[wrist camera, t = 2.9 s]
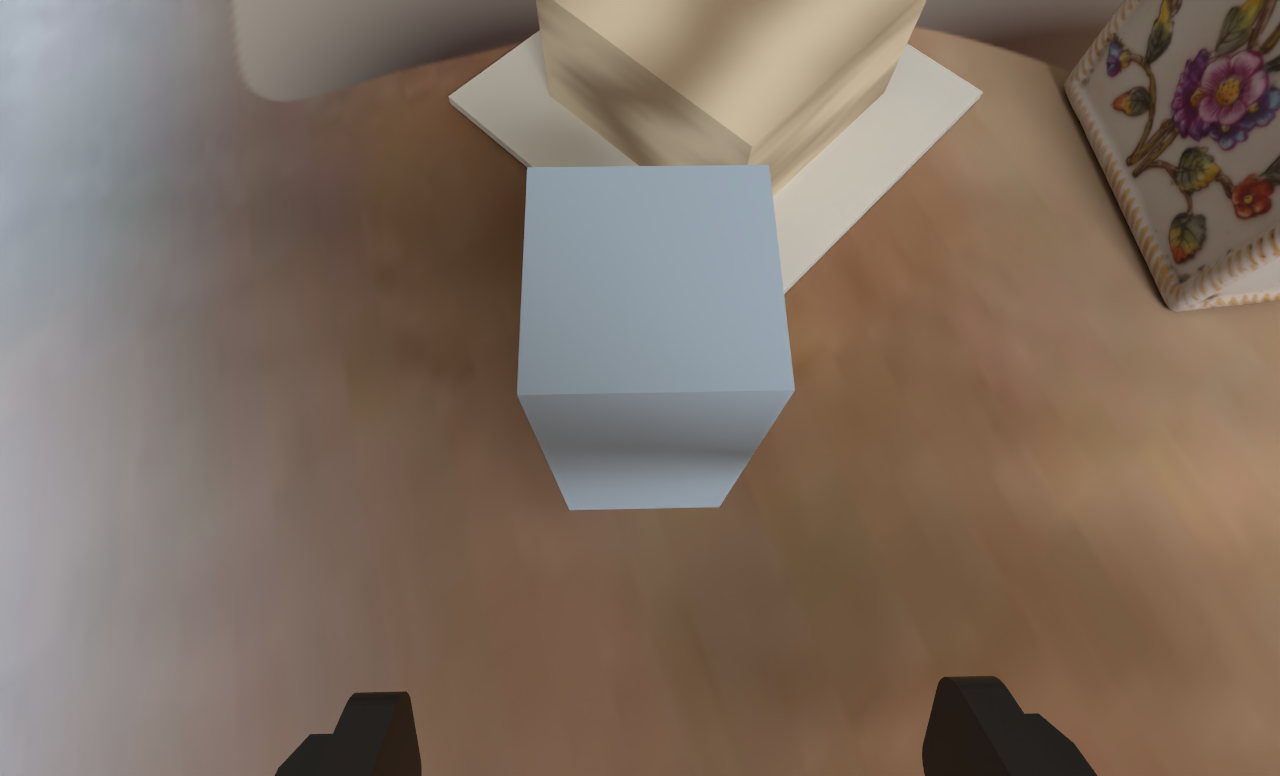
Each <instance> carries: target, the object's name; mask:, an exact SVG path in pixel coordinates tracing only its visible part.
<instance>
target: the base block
mask: <svg viewBox="0 0 1280 776" xmlns="http://www.w3.org/2000/svg"><path fill="white" fill-rule="evenodd" d="M926 1H927V0H536V6H537V12H538V19H539V25H540V33H541V40H542V46H543V53H544V60H545V67H546V73H547V80H548V87H549V94H550V96H551V97H552V98H553V99H555V100H556V101H557V102H559V103H560V104H561V105H562V106H564V107H565V108H566V109H567V110H569V111H570V112H571V113H573V114H574V115H575V116H576V117H578V118H579V119H580V120H581V121H583V122H584V123H585V124H586V125H588V126H589V127H590V128H592V129H593V130H594V131H595V132H597V133H598V134H599V135H600V136H602V137H603V138H604V139H606V140H607V141H608V142H609V143H611V144H612V145H613V146H614V147H616V148H617V149H618V150H620V151H621V152H622V153H623V154H625V155H626V156H627V157H628V158H630V159H631V160H632V161H634V162H635V163H636V164H637V165H639V166H708V165H769V168H770V177H771V185H772V194H773V196H774V195H775V194H777V193H778V192H779V191H780V190H781V189H782V188H783V187H784V186H785V185H786V184H787V183H788V182H789V181H790V180H792V179H793V178H794V177H795V176H796V175H797V174H798V173H799V172H800V171H801V170H802V169H803V168H804V167H805V166H806V165H808V164H809V163H810V162H811V161H812V160H813V159H814V158H815V157H816V156H817V155H818V154H819V153H820V152H821V151H823V150H824V149H825V148H826V147H827V146H828V145H829V144H830V143H831V142H832V141H833V140H834V139H835V138H836V137H838V136H839V135H840V134H841V133H842V132H843V131H844V130H845V129H846V128H847V127H848V126H849V125H850V124H851V123H852V122H854V121H855V120H856V119H857V118H858V117H859V116H860V115H861V114H862V113H863V112H864V111H865V110H866V109H867V108H869V107H870V106H871V105H872V104H873V103H874V102H875V101H876V100H877V99H878V98H879V97H880V96H881V95H882V94H883V93H884V92H885V90H886V88H887V86H888V83H889V81H890V79H891V77H892V75H893V73H894V70H895V68H896V66H897V64H898V62H899V60H900V57H901V55H902V53H903V51H904V49H905V46H906V44H907V42H908V40H909V38H910V36H911V33H912V31H913V29H914V27H915V25H916V23H917V20H918V18H919V16H920V14H921V12H922V9H923V7H924V5H925V3H926Z"/></svg>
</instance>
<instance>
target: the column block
mask: <svg viewBox="0 0 1280 776" xmlns="http://www.w3.org/2000/svg"><path fill="white" fill-rule="evenodd" d="M794 391H795V387H794V378H793V370H792V361H791V352H790V343H789V335H788V326H787V317H786V308H785V299H784V291H783V282H782V273H781V264H780V256H779V247H778V238H777V229H776V220H775V212H774V203H773V194H772V185H771V177H770V168H769V165H708V166H610V167H527V184H526V206H525V228H524V250H523V272H522V294H521V316H520V338H519V360H518V382H517V396H518V399H519V401H520V403H521V405H522V407H523V410H524V412H525V414H526V416H527V418H528V420H529V423H530V425H531V427H532V429H533V431H534V434H535V436H536V438H537V440H538V442H539V445H540V447H541V449H542V451H543V453H544V455H545V458H546V460H547V462H548V464H549V466H550V469H551V471H552V473H553V475H554V477H555V480H556V482H557V484H558V486H559V488H560V491H561V493H562V495H563V497H564V499H565V501H566V504H567V506H568V508H569V510H599V509H647V508H695V507H720V505H721V503H722V502H723V500H724V499H725V497H726V496H727V494H728V493H729V491H730V490H731V488H732V486H733V485H734V483H735V482H736V480H737V479H738V477H739V476H740V474H741V473H742V471H743V469H744V468H745V466H746V465H747V463H748V462H749V460H750V459H751V457H752V456H753V454H754V453H755V451H756V449H757V448H758V446H759V445H760V443H761V442H762V440H763V439H764V437H765V436H766V434H767V432H768V431H769V429H770V428H771V426H772V425H773V423H774V422H775V420H776V419H777V417H778V416H779V414H780V412H781V411H782V409H783V408H784V406H785V405H786V403H787V402H788V400H789V399H790V397H791V395H792V394H793V392H794Z"/></svg>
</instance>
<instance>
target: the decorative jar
mask: <svg viewBox="0 0 1280 776" xmlns="http://www.w3.org/2000/svg"><path fill="white" fill-rule="evenodd" d="M1064 89H1065V92H1066V94H1067V97H1068V99H1069V101H1070V104H1071V106H1072V108H1073V110H1074V111H1075V113H1076V115H1077V117H1078V119H1079V121H1080V123H1081V125H1082V127H1083V129H1084V132H1085V134H1086V136H1087V139H1088V141H1089V143H1090V145H1091V147H1092V149H1093V151H1094V153H1095V155H1096V157H1097V159H1098V162H1099V164H1100V166H1101V168H1102V170H1103V172H1104V174H1105V176H1106V179H1107V181H1108V183H1109V185H1110V187H1111V189H1112V191H1113V194H1114V196H1115V198H1116V200H1117V202H1118V204H1119V206H1120V209H1121V211H1122V213H1123V215H1124V217H1125V219H1126V221H1127V223H1128V225H1129V227H1130V230H1131V232H1132V234H1133V236H1134V238H1135V240H1136V242H1137V244H1138V246H1139V249H1140V251H1141V253H1142V255H1143V257H1144V259H1145V261H1146V263H1147V265H1148V268H1149V270H1150V272H1151V274H1152V276H1153V278H1154V281H1155V283H1156V285H1157V287H1158V290H1159V292H1160V294H1161V296H1162V298H1163V300H1164V302H1165V303H1166V305H1167V307H1168V308H1169V309H1170V310H1171V311H1174V312H1180V311H1193V310H1197V309H1208V308H1212V307H1224V306H1236V305H1245V304H1253V303H1259V302H1268V301H1275V300H1280V0H1124V2H1123V3H1122V4H1121V5H1120V7H1119V8H1118V9H1117V10H1116V12H1115V13H1114V15H1113V16H1112V17H1111V19H1110V20H1109V22H1108V23H1107V24H1106V26H1105V27H1104V29H1103V30H1102V31H1101V32H1100V33H1099V35H1098V36H1097V38H1096V39H1095V40H1094V41H1093V43H1092V44H1091V46H1090V48H1089V49H1088V50H1087V51H1086V53H1085V54H1084V55H1083V57H1082V58H1081V59H1080V61H1079V62H1078V64H1077V65H1076V66H1075V68H1074V69H1073V70H1072V72H1071V73H1070V74H1069V75H1068V77H1067V78H1066V80H1065V82H1064Z"/></svg>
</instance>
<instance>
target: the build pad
mask: <svg viewBox="0 0 1280 776" xmlns="http://www.w3.org/2000/svg"><path fill="white" fill-rule="evenodd" d="M982 93H983V92H982V91H981V90H979V89H978V88H976V87H974V86H973V85H971V84H970V83H968V82H967V81H965V80H963V79H962V78H960V77H959V76H957V75H956V74H954V73H953V72H951V71H949V70H948V69H946V68H945V67H943V66H942V65H940V64H939V63H937V62H935V61H934V60H932V59H931V58H929V57H928V56H926V55H924V54H923V53H921V52H920V51H918V50H917V49H915V48H914V47H912V46H910V45H909V44H906V46H905V49H904V51H903V53H902V55H901V57H900V60H899V62H898V64H897V66H896V68H895V70H894V73H893V75H892V77H891V79H890V81H889V83H888V86H887V88H886V90H885V92H884V93H883V94H882V95H881V96H880V97H879V98H878V99H877V100H876V101H875V102H874V103H873V104H872V105H871V106H870V107H869V108H867V109H866V110H865V111H864V112H863V113H862V114H861V115H860V116H859V117H858V118H857V119H856V120H855V121H854V122H852V123H851V124H850V125H849V126H848V127H847V128H846V129H845V130H844V131H843V132H842V133H841V134H840V135H839V136H838V137H836V138H835V139H834V140H833V141H832V142H831V143H830V144H829V145H828V146H827V147H826V148H825V149H824V150H823V151H821V152H820V153H819V154H818V155H817V156H816V157H815V158H814V159H813V160H812V161H811V162H810V163H809V164H808V165H806V166H805V167H804V168H803V169H802V170H801V171H800V172H799V173H798V174H797V175H796V176H795V177H794V178H793V179H792V180H790V181H789V182H788V183H787V184H786V185H785V186H784V187H783V188H782V189H781V190H780V191H779V192H778V193H777V194H775V195H774V196H773V203H774V212H775V220H776V229H777V238H778V247H779V256H780V264H781V273H782V282H783V291H784V294H785V293H786V292H787V291H788V290H789V289H790V288H791V287H792V286H793V285H794V284H795V283H796V282H797V281H798V280H799V279H800V278H801V277H802V276H803V275H804V274H805V273H806V272H807V271H808V270H809V269H810V268H811V267H812V266H813V265H814V264H815V263H816V262H817V261H818V260H819V259H820V258H821V257H822V256H823V255H824V254H825V253H826V252H827V251H828V250H829V249H830V248H831V247H832V246H833V245H834V244H835V243H836V242H837V241H838V240H839V239H840V238H841V237H842V236H843V235H844V234H845V233H846V232H847V231H848V230H849V229H850V228H851V227H852V226H853V225H854V224H855V223H856V222H857V221H858V220H859V219H860V218H861V217H862V216H863V215H864V214H865V213H866V212H867V211H868V210H869V209H870V208H871V207H872V206H873V205H874V204H875V203H876V202H877V201H878V200H879V199H880V198H881V197H882V196H883V195H884V194H885V193H886V192H887V191H888V190H889V189H890V188H891V187H892V186H893V185H894V184H895V183H896V182H897V181H898V180H899V179H900V178H901V177H902V176H903V175H904V174H905V173H906V172H907V171H908V170H909V169H910V168H911V167H912V166H913V165H914V164H915V163H916V162H917V161H918V159H919V158H920V157H921V156H922V155H923V154H924V153H925V152H926V151H927V150H928V149H929V148H930V147H931V146H932V145H933V144H934V143H935V142H936V141H937V140H938V139H939V138H940V137H941V136H942V135H943V134H944V133H945V132H946V131H947V130H948V129H949V128H950V127H951V126H952V125H953V124H954V123H955V122H956V121H957V120H958V119H959V118H960V117H961V116H962V115H963V114H964V113H965V112H966V111H967V110H968V109H969V108H970V107H971V106H972V105H973V104H974V103H975V102H976V101H977V100H978V99H979V98H980V96H981V95H982ZM448 98H449V101H450V104H451V105H453V106H454V107H455V108H456V109H457V110H459V111H460V112H461V113H462V114H463V115H465V116H466V117H467V118H468V119H469V120H471V121H472V122H473V123H474V124H475V125H477V126H478V127H479V128H480V129H481V130H483V131H484V132H485V133H486V134H487V135H489V136H490V137H491V138H492V139H493V140H495V141H496V142H497V143H498V144H499V145H501V146H502V147H503V148H504V149H505V150H507V151H508V152H509V153H510V154H512V155H513V156H514V157H515V158H516V159H518V160H519V161H520V162H521V163H522V164H524V165H525V166H526V167H610V166H639V165H637V164H636V163H635V162H634V161H632V160H631V159H630V158H628V157H627V156H626V155H625V154H623V153H622V152H621V151H620V150H618V149H617V148H616V147H614V146H613V145H612V144H611V143H609V142H608V141H607V140H606V139H604V138H603V137H602V136H600V135H599V134H598V133H597V132H595V131H594V130H593V129H592V128H590V127H589V126H588V125H586V124H585V123H584V122H583V121H581V120H580V119H579V118H578V117H576V116H575V115H574V114H573V113H571V112H570V111H569V110H567V109H566V108H565V107H564V106H562V105H561V104H560V103H559V102H557V101H556V100H555V99H553V98H552V97H551V96H550V94H549V87H548V80H547V73H546V67H545V60H544V53H543V46H542V40H541V33H540V30H539V31H538V32H537V33H535V34H534V35H532V36H531V37H530V38H528V39H527V40H525V41H524V42H523V43H521V44H520V45H519V46H517V47H516V48H514V49H513V50H512V51H510V52H509V53H507V54H506V55H505V56H503V57H502V58H501V59H499V60H498V61H496V62H495V63H494V64H492V65H491V66H490V67H488V68H487V69H485V70H484V71H483V72H481V73H480V74H478V75H477V76H476V77H474V78H473V79H472V80H470V81H469V82H467V83H466V84H465V85H463V86H462V87H461V88H459V89H458V90H456V91H455V92H454V93H452V94H451V95H449V96H448Z"/></svg>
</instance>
